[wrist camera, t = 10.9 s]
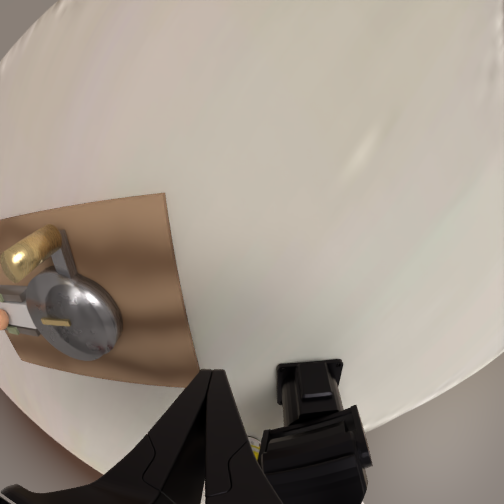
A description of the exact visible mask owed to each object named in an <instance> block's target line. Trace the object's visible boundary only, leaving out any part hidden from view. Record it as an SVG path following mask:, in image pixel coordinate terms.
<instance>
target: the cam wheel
mask: <svg viewBox="0 0 504 504" xmlns="http://www.w3.org/2000/svg"><path fill="white" fill-rule="evenodd" d="M50 256H51V257H52V260H53V263H54V266H49V267H47V268H45V269H44V270H42V271H41V272H40V273H39V274H38V275H36V276H35V277H34V278H33V279H32V280H31V281H30V282H29V284H28V286H27V289H26V304H27V308H28V311H29V314H30V316H31V319H32V321H33V323H34V324H35V326H36V327H37V329H38V330H39V332H40V333H41V334H42V336H43V337H44V338H45V339H46V340H47V341H48V342H49V343H50V344H51V345H52V346H54V347H55V348H56V349H58V350H59V351H61V352H62V353H64V354H66V355H68V356H70V357H72V358H75V359H78V360H83V361H92V360H96V359H98V358H100V357H101V356H102V355H103V354H106V353H108V352H110V351H111V350H112V349H113V347H114V345H115V344H116V342H117V340H118V338H119V336H120V335H121V333H122V329H123V320H122V315H121V312H120V310H119V308H118V306H117V304H116V302H115V301H114V299H113V298H112V297H111V295H110V294H109V293H108V292H107V291H106V290H105V289H104V288H103V287H102V286H101V285H99V284H98V283H96V282H95V281H93V280H91V279H89V278H87V277H85V276H82V275H81V274H79V273H78V272H77V269H76V266H75V263H74V260H73V257H72V253H71V250H70V247H69V243H68V240H67V236H66V233H65V230H58V229H57V228H56V227H55V226H54V225H51V224H47V225H45V226H43V227H42V228H40V229H38V230H37V231H35V232H33V233H32V234H30V235H29V236H27V237H25V238H24V239H22V240H21V241H19V242H18V243H16V244H15V245H13V246H12V247H10V248H9V249H7V250H6V251H4V252H3V253H2V254H1V257H0V262H1V267H2V270H3V272H4V274H5V275H6V276H7V278H8V279H9V280H10V281H12V282H14V283H18V282H19V281H21V280H22V279H23V278H24V277H25V276H27V275H28V274H29V273H30V272H31V271H33V270H34V269H35V268H36V267H38V266H39V265H40V264H41V263H43V262H44V261H45V260H46V259H48V258H49V257H50Z"/></svg>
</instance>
